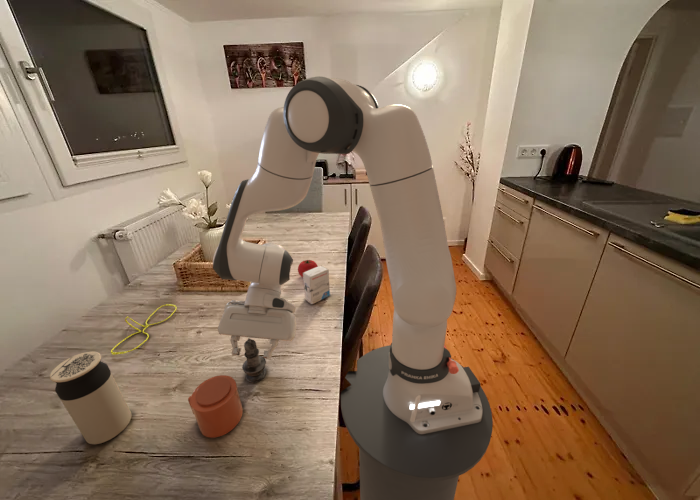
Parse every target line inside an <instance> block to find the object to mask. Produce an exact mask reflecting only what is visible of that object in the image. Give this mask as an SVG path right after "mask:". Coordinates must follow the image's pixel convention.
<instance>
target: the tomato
mask: <svg viewBox="0 0 700 500" xmlns="http://www.w3.org/2000/svg"><path fill="white" fill-rule="evenodd" d="M318 266H319V265H318V264H317V262H316V261H314V260H311V259H305V260H303V261H301V262H300V263H299V264H298V266H297V273H298V275H299V276H300V277H301V278H303V273H304V272H306V271H308V270H311V269H313V268H316V267H318Z"/></svg>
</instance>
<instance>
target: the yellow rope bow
mask: <svg viewBox="0 0 700 500" xmlns="http://www.w3.org/2000/svg"><path fill="white" fill-rule="evenodd" d="M166 306H167V307H173V308H175V309H174V310H173V311H172V313H171V314H170V315H169V316H168V317H166V318H165V319H163V320H160V321H158V322H154V323H150V324H148V321H150V318H151V317H152V316H153V315H154V314H155V313H156V312H157V311H159V309H161V308H162V307H166ZM177 310H178V308H177V305H176V304H172V303H171V304H170V303H167V304H163V305H160V306H159V307H158V308H156V309H155V310H154V311H153V312H152V313H151V314H150V315H149V316H148V318H147V319H146V320H145V325H143V324H141V323H139V322H137V321H135V320H134V319H133V318H131V317H130V316H126V317H125V319H124V321H125V323H126V324H127V325H129V326H130V327H131V328H133V330H136V332H134V333H131V334H129V335H128V336H126V337H125V338H124V339H122V340H121V341H120V342H118V343H117V344H116V345H115V346H113V348H112V349H110V354H111V355H113V356H115V355H123V354H127V353H130V352H133V351H135V350H137V349H138V348H139V347H141V346H142V345H143V344H144V343H145V342H147V341H148V340H149V338H150V335H149V333H148V332H145V330H146V329H147V328H148V327H150V326H154V325H158V324H161V323H163V322H166V321H167V320H168V319H170V318H171V317H172V316H173V315H174V314H175V312H176V311H177ZM127 319H129V320H130V321H131V322H133V323H135V324H136V325H138V326H140V327H142V328H143V329H142V330H141V329H139V328H137V327H135V326H133V325H132V324H131V323H130V322H129V321H128V320H127ZM141 332H142V334H144V335H146V339H145V340H143V342H141V343H140V344H139V345H137V346H136V347H134V348H133V349H130V350H125V351H118V352H116V351H115V352H114V350H115V349H116V348H117V347H118V346H120V344H122V343H123V342H124V341H126V340H127V339H129V338H130V337H132V336H134V335H136V334H139V333H141Z"/></svg>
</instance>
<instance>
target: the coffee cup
mask: <svg viewBox="0 0 700 500" xmlns="http://www.w3.org/2000/svg"><path fill="white" fill-rule="evenodd" d="M237 385H238V384H237V382H236V380H235V378H233V377H232V376H230V375H225V374H221V375H216V376H212V377H210V378H207V379H206V380H204V381H202V382H201V383H200V384H199V385H197V387H196V388H195V389H194V390H193V392H192V394H191V395H190V396H189V397H188V398H187V401H188V404H189V407H190V409H191V412H192V415H194V417H195V420H196V423H197V425H198V428H199V431H200V433H201V434H202V435H203V436H204V437H206V438H211V439H215V438H219V437H222V436H225V435H227V434H228V433H230V432H231V431H233V430H234V429H235V428H236V427H237V426H238V424H239V423H240V421H241V419H242V416H243V413H244V412H243V411H244V409H243V405H242V401H241V397H240V393H239V389H238V386H237Z"/></svg>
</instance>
